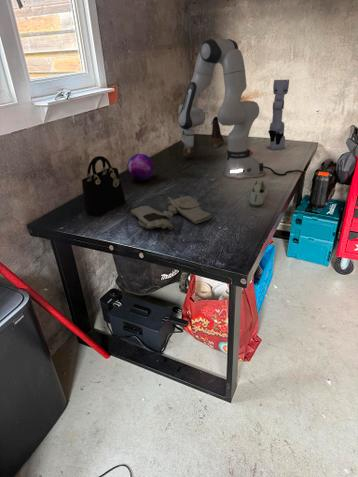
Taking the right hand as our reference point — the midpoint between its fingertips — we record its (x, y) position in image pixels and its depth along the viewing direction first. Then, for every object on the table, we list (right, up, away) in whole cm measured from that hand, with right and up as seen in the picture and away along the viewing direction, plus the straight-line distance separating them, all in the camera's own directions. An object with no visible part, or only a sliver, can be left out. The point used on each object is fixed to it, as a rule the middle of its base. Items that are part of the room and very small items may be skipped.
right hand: (274, 142), depth 213 cm
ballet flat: (-24, -42, -53) cm, 72 cm away
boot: (-33, +10, +38) cm, 51 cm away
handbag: (-97, -47, -54) cm, 121 cm away
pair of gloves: (-66, -53, -67) cm, 108 cm away
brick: (-57, -7, +4) cm, 57 cm away
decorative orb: (-84, -28, -23) cm, 91 cm away
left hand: (-57, -5, +3) cm, 57 cm away
